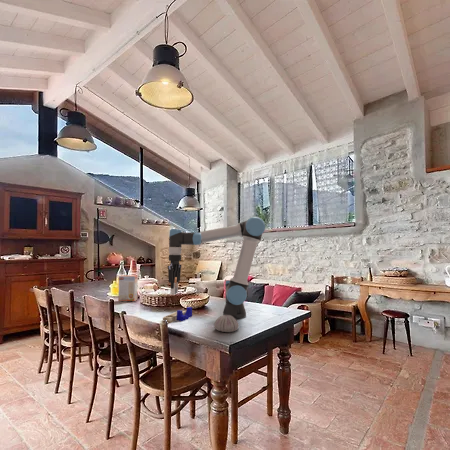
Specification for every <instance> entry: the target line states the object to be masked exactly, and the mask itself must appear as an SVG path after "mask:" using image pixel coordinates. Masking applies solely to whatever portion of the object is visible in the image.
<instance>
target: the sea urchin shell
mask: <svg viewBox="0 0 450 450" xmlns="http://www.w3.org/2000/svg"><path fill="white" fill-rule="evenodd" d="M214 328H215V329H216V330H217V331H219V332H222V333H224V332H225V333H232V332H235V331H237V330H238V329H239V322H238V320H237V319H235V318H234V317H233V316H231V315H223V314H222V315H221V316H219V317H218V318H216V320H215V321H214Z"/></svg>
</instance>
